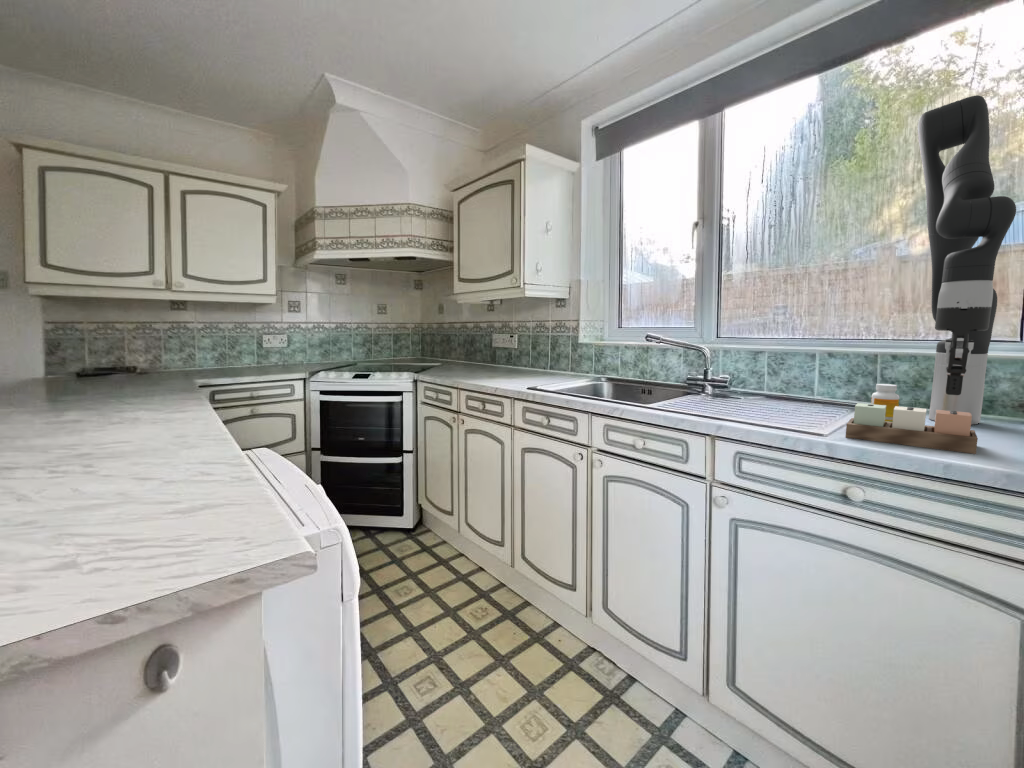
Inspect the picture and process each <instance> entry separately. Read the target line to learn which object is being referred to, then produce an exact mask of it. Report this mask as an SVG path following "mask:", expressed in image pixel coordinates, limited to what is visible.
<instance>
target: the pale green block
mask: <svg viewBox="0 0 1024 768" xmlns="http://www.w3.org/2000/svg"><path fill="white" fill-rule="evenodd" d="M885 414H886V405H875V404H871V403H863V402H862V403H861V402H857V403H856V404H855V405H854V415H853V418H854V423H853V424H863V425H872V426H881V427H883V426H884V424H885Z"/></svg>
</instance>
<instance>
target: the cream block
mask: <svg viewBox="0 0 1024 768" xmlns="http://www.w3.org/2000/svg"><path fill="white" fill-rule="evenodd" d="M926 416H927V408H920V407H912V406H899V407H898V406H895V408H894V413H893V423H892V428H899V429H908V430H917V431H924V428H925V425H926V418H927V417H926Z"/></svg>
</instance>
